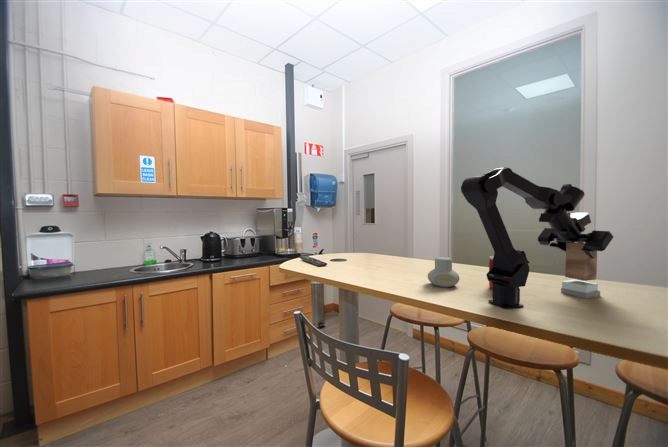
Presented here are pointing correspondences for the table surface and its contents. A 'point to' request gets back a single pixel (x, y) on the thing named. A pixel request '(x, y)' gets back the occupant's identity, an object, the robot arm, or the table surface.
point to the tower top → (580, 285)
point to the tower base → (581, 293)
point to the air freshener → (443, 273)
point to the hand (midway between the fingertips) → (584, 255)
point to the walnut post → (579, 263)
